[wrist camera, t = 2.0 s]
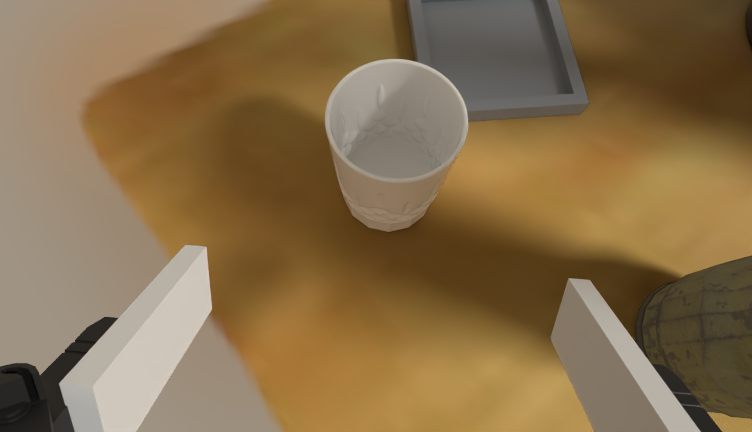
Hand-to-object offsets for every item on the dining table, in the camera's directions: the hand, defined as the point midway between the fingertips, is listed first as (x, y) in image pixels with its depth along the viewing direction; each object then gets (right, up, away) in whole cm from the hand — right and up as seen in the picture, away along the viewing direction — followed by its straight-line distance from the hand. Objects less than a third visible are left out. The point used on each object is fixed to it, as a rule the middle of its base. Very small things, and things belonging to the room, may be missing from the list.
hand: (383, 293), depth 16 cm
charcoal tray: (+9, +17, +22) cm, 29 cm away
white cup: (+1, +5, +18) cm, 18 cm away
